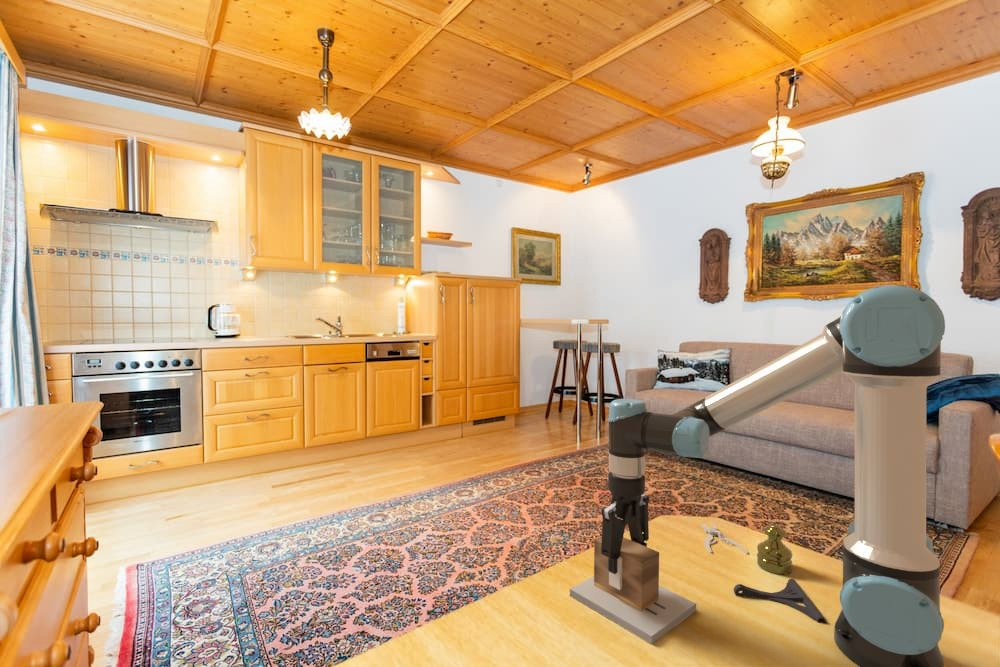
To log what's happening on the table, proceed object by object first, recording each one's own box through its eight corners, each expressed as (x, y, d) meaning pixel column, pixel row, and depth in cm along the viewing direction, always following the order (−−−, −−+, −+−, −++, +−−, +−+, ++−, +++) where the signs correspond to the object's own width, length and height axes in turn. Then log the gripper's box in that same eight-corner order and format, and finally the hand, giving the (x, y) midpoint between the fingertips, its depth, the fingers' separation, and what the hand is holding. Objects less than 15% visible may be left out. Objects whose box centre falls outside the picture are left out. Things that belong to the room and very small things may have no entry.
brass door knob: (753, 567, 116) (754, 526, 115) (761, 556, 121) (761, 517, 121) (788, 578, 111) (789, 535, 110) (794, 566, 116) (795, 525, 116)
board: (696, 610, 99) (696, 603, 99) (651, 644, 88) (651, 635, 88) (615, 570, 114) (615, 564, 114) (569, 595, 104) (569, 588, 104)
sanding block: (658, 599, 100) (659, 552, 99) (641, 611, 96) (642, 561, 95) (611, 575, 109) (611, 532, 109) (593, 585, 105) (594, 539, 105)
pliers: (709, 548, 123) (689, 523, 138) (709, 554, 123) (689, 528, 138) (749, 549, 122) (725, 524, 137) (749, 555, 122) (725, 529, 137)
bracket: (725, 579, 112) (725, 567, 112) (795, 585, 109) (795, 573, 109) (744, 618, 97) (745, 604, 97) (826, 626, 95) (826, 613, 95)
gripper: (637, 460, 110) (636, 559, 111) (582, 478, 98) (581, 589, 99) (667, 468, 105) (666, 573, 105) (612, 488, 93) (611, 606, 93)
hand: (625, 580), depth 102 cm, fingers closed on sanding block, 6 cm apart
